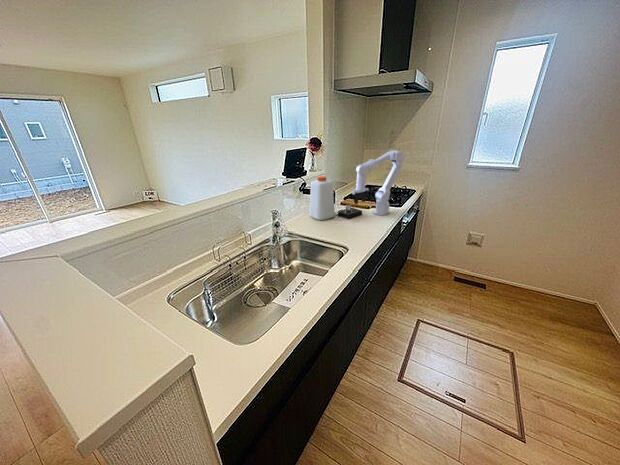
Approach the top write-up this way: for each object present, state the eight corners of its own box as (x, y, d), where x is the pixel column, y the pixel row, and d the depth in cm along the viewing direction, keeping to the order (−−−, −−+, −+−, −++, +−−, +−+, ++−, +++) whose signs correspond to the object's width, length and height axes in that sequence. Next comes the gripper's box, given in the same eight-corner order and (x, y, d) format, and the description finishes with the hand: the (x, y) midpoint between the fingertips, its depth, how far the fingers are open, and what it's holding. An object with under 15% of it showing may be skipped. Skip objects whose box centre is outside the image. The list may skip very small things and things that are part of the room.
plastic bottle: (337, 217, 177) (337, 177, 165) (319, 221, 169) (319, 180, 158) (324, 211, 188) (323, 174, 177) (307, 215, 180) (306, 176, 169)
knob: (348, 209, 181) (348, 203, 180) (352, 211, 178) (352, 205, 177) (344, 210, 179) (344, 205, 177) (348, 212, 176) (348, 206, 174)
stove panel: (351, 211, 187) (351, 207, 186) (361, 214, 180) (362, 210, 179) (337, 215, 180) (338, 211, 178) (348, 219, 172) (348, 214, 171)
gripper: (363, 180, 176) (362, 199, 182) (349, 184, 168) (348, 203, 174) (371, 182, 171) (370, 201, 176) (356, 185, 163) (355, 205, 168)
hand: (359, 202), depth 175 cm, fingers open, 7 cm apart
